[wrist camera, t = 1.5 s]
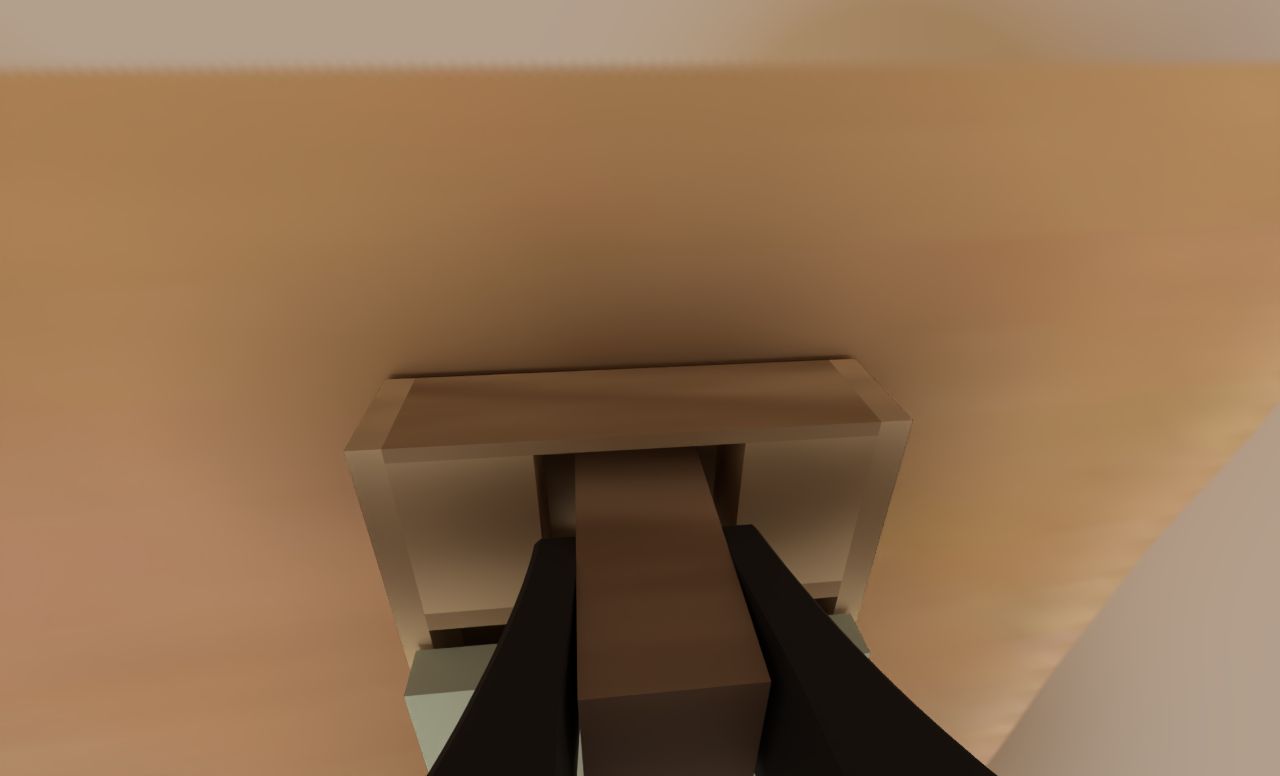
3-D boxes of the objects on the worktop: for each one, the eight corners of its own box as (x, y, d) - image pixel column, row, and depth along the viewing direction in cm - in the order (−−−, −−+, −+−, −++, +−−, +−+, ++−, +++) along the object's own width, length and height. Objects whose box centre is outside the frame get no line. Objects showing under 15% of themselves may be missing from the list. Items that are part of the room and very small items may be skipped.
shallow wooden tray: (760, 810, 22) (780, 890, 20) (496, 841, 22) (488, 928, 19) (855, 358, 13) (913, 420, 11) (384, 379, 12) (343, 451, 10)
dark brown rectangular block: (682, 507, 14) (751, 784, 8) (580, 513, 13) (585, 802, 8) (687, 420, 12) (771, 681, 7) (574, 427, 12) (577, 700, 7)
